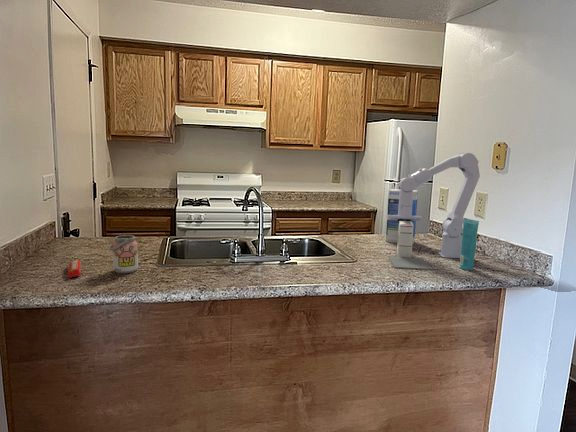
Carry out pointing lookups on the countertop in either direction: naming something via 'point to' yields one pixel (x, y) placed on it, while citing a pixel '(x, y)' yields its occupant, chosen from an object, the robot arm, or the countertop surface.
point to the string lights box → (393, 210)
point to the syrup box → (405, 239)
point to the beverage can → (125, 254)
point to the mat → (409, 263)
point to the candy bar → (74, 269)
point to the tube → (468, 243)
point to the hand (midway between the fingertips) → (403, 236)
